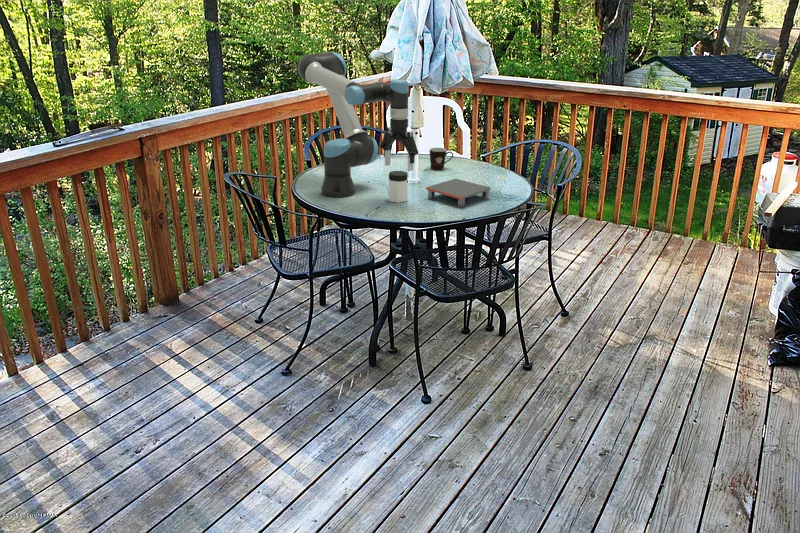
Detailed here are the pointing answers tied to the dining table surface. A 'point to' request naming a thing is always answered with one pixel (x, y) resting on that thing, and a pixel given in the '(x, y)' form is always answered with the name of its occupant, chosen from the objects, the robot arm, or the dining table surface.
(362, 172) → the dining table surface
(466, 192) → the stand
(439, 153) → the coffee mug
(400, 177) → the jar
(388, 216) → the dining table surface
